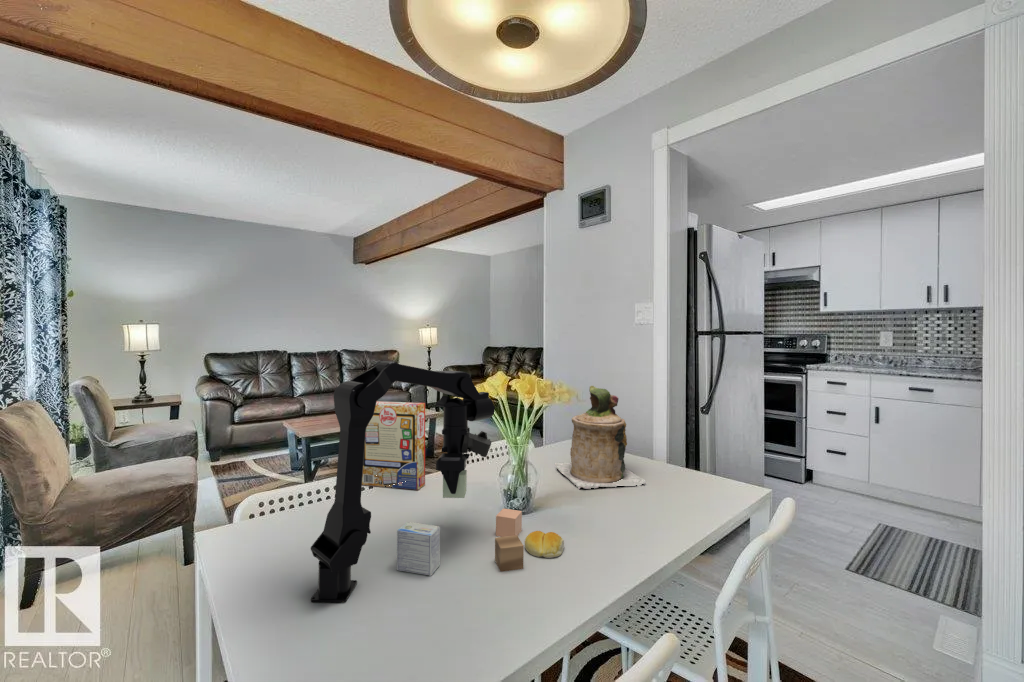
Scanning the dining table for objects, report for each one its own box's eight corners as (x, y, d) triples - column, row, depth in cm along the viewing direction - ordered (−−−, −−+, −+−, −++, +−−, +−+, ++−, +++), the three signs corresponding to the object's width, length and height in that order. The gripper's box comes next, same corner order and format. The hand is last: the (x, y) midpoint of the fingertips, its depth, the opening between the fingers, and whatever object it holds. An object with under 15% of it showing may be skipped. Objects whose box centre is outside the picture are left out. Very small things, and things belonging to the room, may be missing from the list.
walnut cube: (523, 569, 93) (523, 545, 93) (500, 572, 91) (500, 548, 91) (516, 557, 97) (517, 535, 97) (494, 560, 96) (495, 537, 96)
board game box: (425, 484, 144) (426, 402, 144) (417, 491, 138) (418, 405, 137) (369, 479, 148) (369, 399, 148) (358, 485, 142) (359, 402, 142)
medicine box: (440, 566, 93) (440, 525, 93) (430, 577, 89) (431, 534, 89) (406, 560, 95) (407, 520, 95) (396, 571, 91) (396, 529, 91)
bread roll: (529, 539, 106) (529, 523, 106) (565, 545, 104) (566, 528, 104) (519, 555, 98) (520, 538, 98) (559, 562, 96) (559, 544, 96)
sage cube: (464, 498, 102) (464, 476, 102) (442, 497, 102) (443, 476, 102) (466, 490, 107) (466, 469, 107) (445, 490, 107) (446, 469, 107)
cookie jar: (578, 491, 139) (580, 391, 139) (552, 469, 163) (554, 383, 163) (648, 486, 145) (649, 389, 145) (613, 465, 169) (614, 382, 169)
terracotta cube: (514, 539, 106) (515, 518, 106) (495, 535, 108) (496, 515, 108) (521, 530, 111) (521, 511, 111) (503, 527, 113) (503, 508, 112)
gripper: (487, 433, 95) (486, 505, 95) (491, 417, 113) (490, 477, 113) (436, 432, 95) (435, 504, 95) (447, 416, 113) (447, 476, 113)
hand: (454, 489), depth 104 cm, fingers closed on sage cube, 5 cm apart
